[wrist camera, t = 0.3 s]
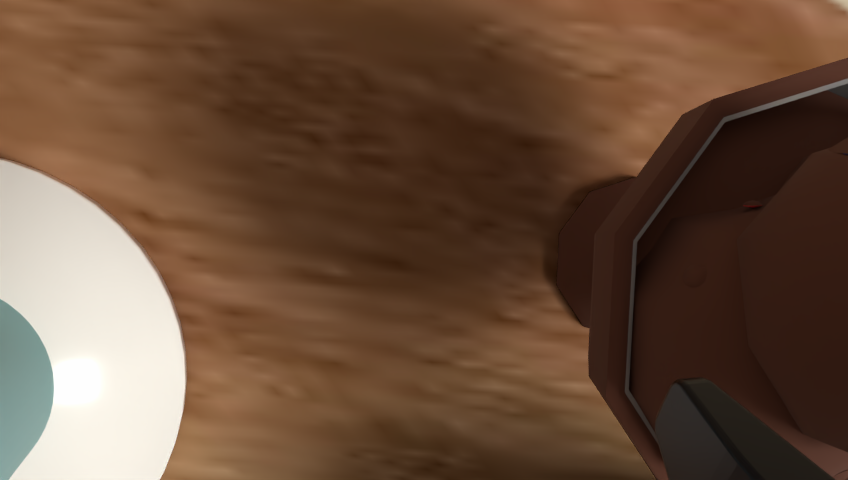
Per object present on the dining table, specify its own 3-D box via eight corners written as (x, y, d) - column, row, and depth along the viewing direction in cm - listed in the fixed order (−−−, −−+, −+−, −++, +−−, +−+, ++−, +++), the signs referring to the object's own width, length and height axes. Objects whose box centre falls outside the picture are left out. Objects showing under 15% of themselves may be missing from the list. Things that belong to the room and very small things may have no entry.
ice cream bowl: (474, 426, 26) (763, 782, 11) (486, 84, 25) (827, -25, 10) (758, 414, 28) (1311, 695, 13) (782, 99, 27) (1412, 29, 12)
